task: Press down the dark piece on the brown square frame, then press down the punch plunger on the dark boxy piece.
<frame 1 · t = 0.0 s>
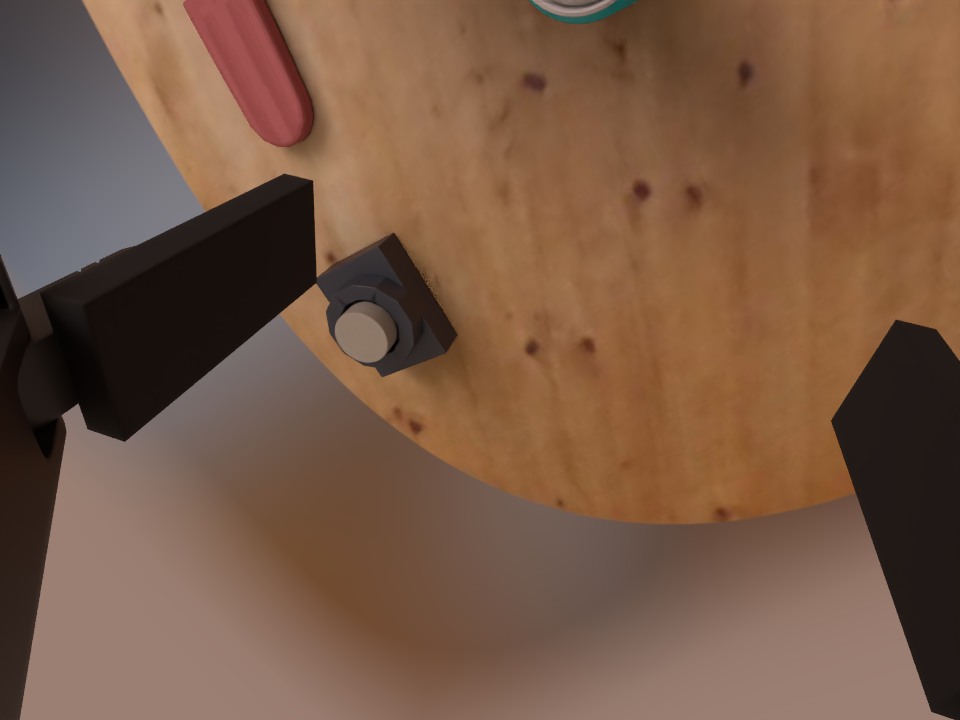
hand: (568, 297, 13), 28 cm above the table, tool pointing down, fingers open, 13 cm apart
popsicle: (249, 35, 41), on the table
dark boxy piece: (394, 300, 49), on the table
punch plunger: (366, 332, 45), point 6 cm above the table, slide at 0.1 cm
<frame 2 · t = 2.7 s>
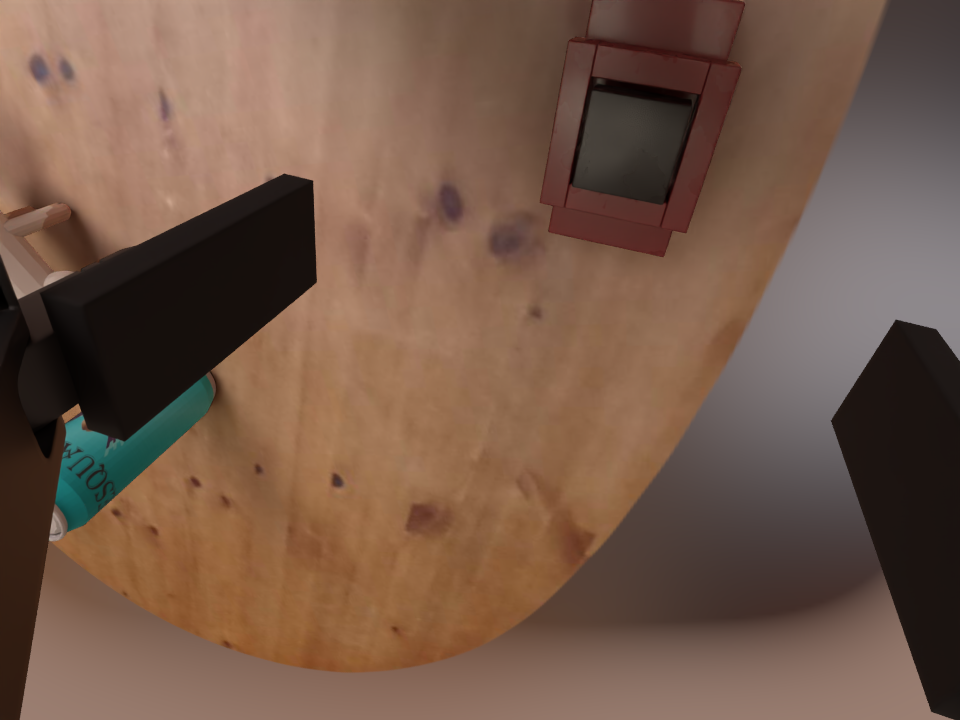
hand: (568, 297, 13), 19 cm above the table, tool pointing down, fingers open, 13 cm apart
beverage can: (193, 376, 48), on the table
dark piece: (629, 144, 25), point 4 cm above the table, slide at 0.1 cm
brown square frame: (636, 123, 28), on the table
toy: (80, 236, 43), on the table
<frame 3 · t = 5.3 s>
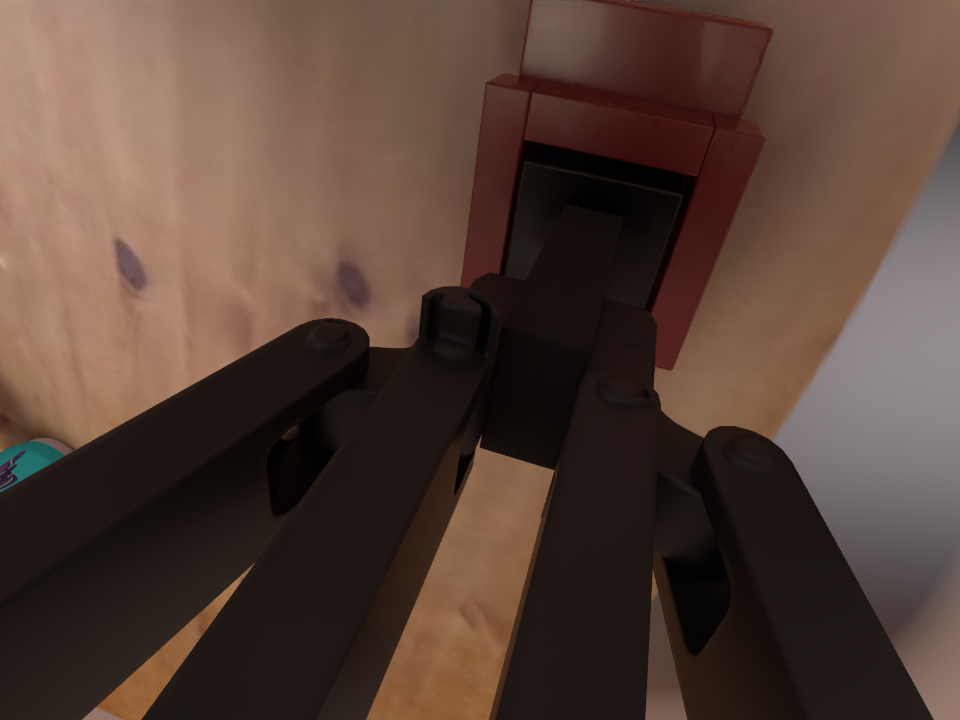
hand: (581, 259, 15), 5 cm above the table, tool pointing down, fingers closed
beverage can: (67, 461, 38), on the table
dark piece: (587, 239, 16), point 4 cm above the table, slide at -0.5 cm, touching gripper
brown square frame: (602, 196, 19), on the table
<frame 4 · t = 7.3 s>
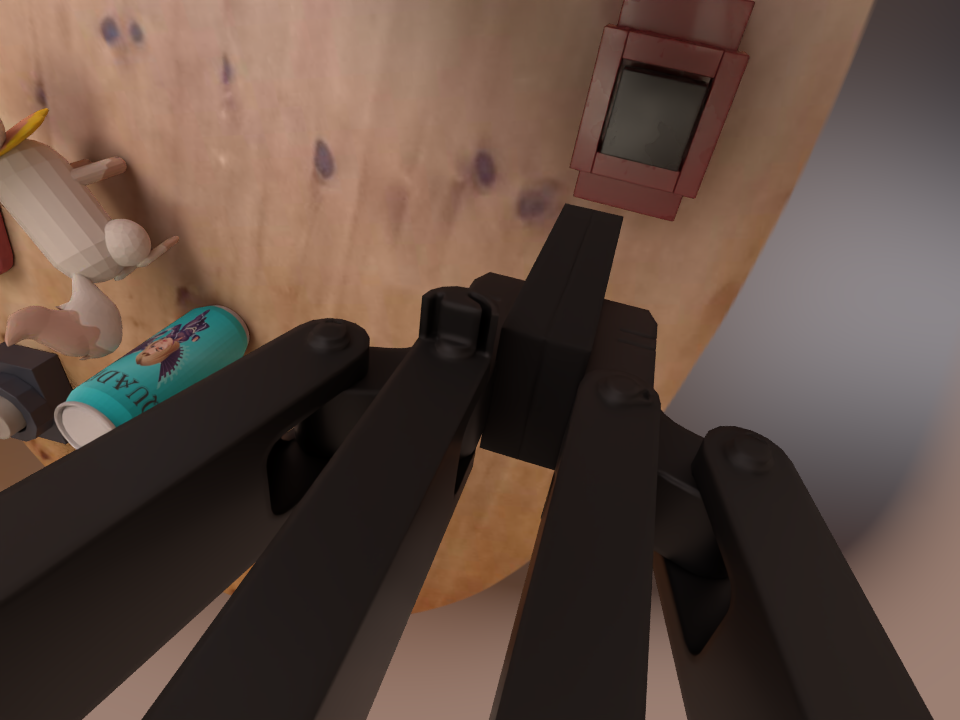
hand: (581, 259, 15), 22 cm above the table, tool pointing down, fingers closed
dark boxy piece: (47, 386, 63), on the table
beverage can: (228, 326, 51), on the table
dark piece: (651, 118, 29), point 4 cm above the table, slide at 0.1 cm
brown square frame: (654, 103, 32), on the table
toy: (132, 189, 46), on the table
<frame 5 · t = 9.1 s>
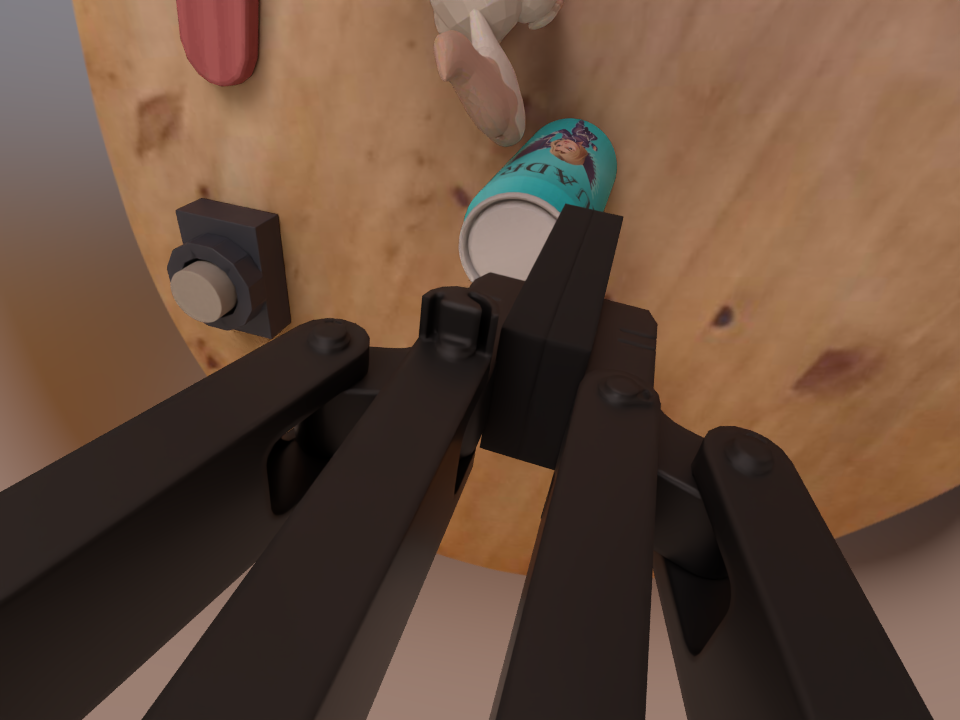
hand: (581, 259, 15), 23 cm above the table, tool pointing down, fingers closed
dark boxy piece: (248, 262, 49), on the table
beverage can: (573, 160, 37), on the table
punch plunger: (204, 291, 44), point 6 cm above the table, slide at 0.1 cm
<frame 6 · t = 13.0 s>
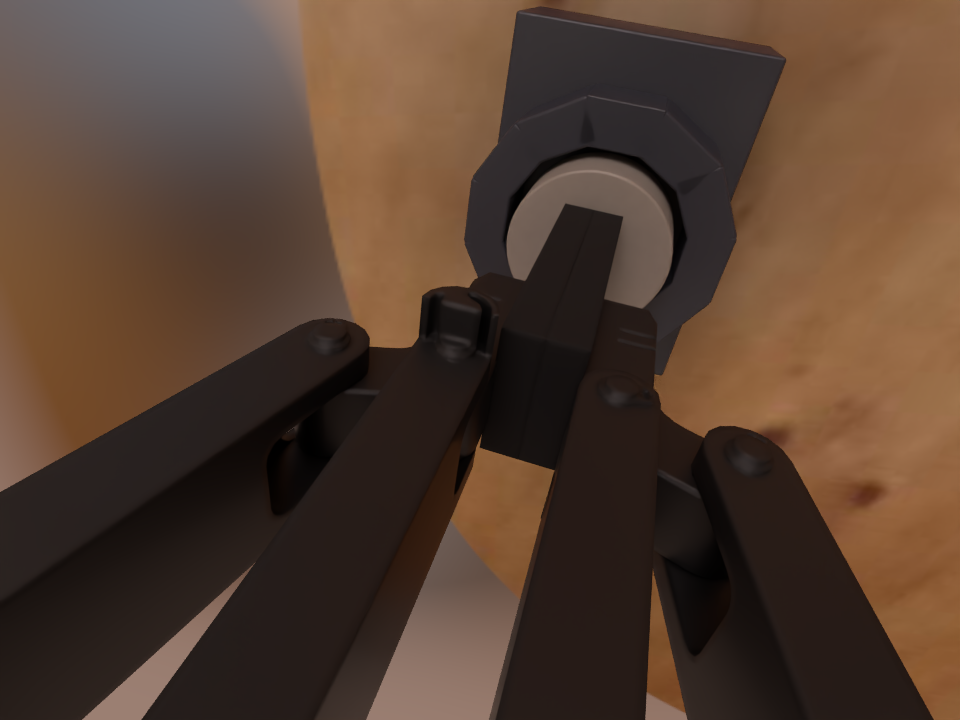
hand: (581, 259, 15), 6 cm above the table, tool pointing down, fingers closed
dark boxy piece: (608, 189, 20), on the table
punch plunger: (590, 240, 16), point 5 cm above the table, slide at -0.5 cm, touching gripper
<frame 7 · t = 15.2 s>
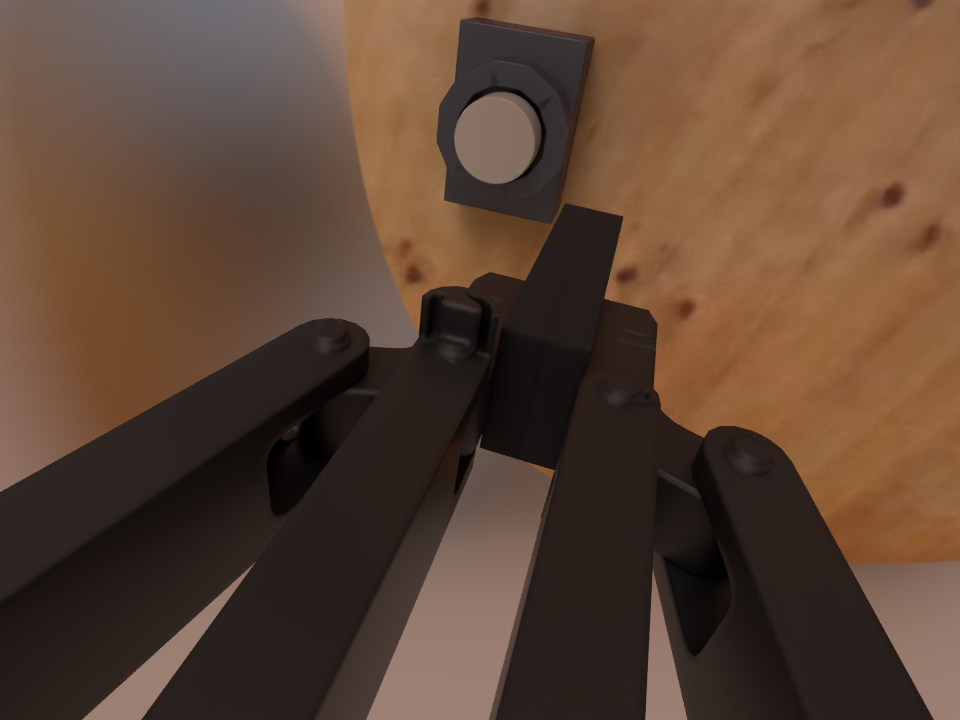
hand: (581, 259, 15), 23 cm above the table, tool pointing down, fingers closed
dark boxy piece: (519, 119, 36), on the table
punch plunger: (498, 138, 31), point 6 cm above the table, slide at 0.1 cm
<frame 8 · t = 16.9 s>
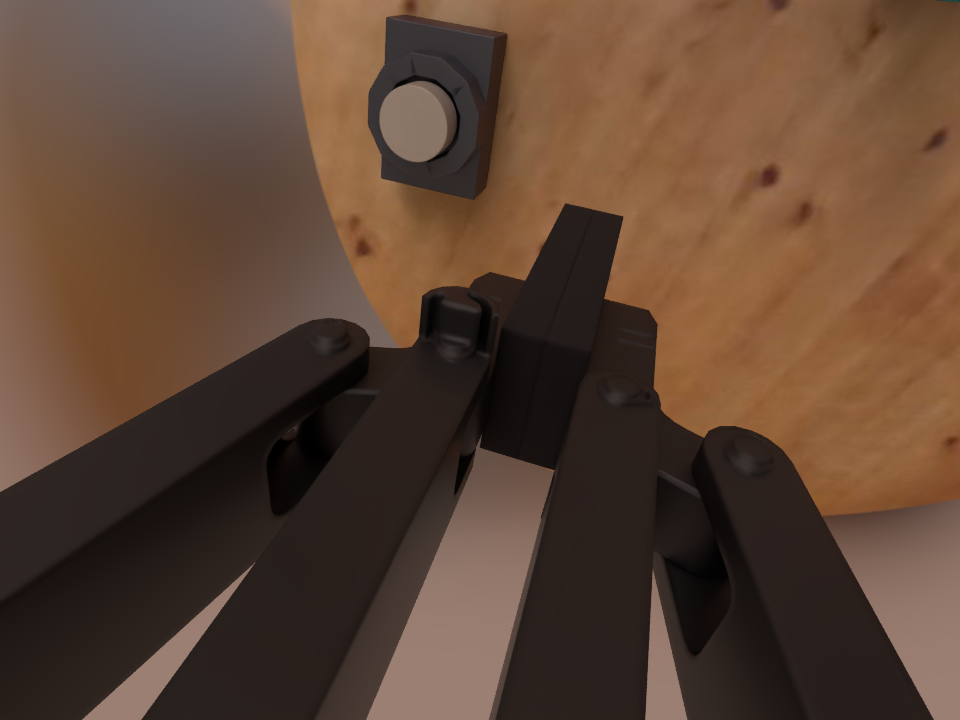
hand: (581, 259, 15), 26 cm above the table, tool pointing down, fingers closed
dark boxy piece: (447, 106, 40), on the table
punch plunger: (418, 121, 36), point 6 cm above the table, slide at 0.1 cm
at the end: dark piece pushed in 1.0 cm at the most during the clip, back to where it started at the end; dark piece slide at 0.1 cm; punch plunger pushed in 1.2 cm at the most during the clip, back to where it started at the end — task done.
